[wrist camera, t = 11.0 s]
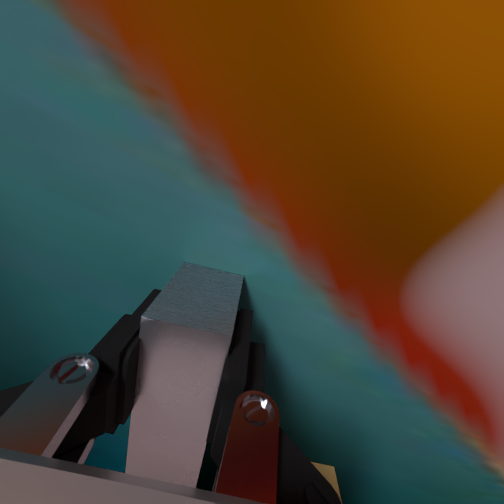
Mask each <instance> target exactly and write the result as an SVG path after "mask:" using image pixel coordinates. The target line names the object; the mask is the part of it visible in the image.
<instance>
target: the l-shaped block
mask: <svg viewBox="0 0 504 504" xmlns="http://www.w3.org/2000/svg"><path fill="white" fill-rule="evenodd" d="M243 278H244V276H242V275H238V274H233V273H229V272H225V271H220V270H216V269H212V268H207V267H203V266H198V265H194V264H190V263H185V262H184V263H183V265H182V266H181V267H180V268H179V270H178V271H177V272H176V273H175V275H174V276H173V277H172V278H171V280H170V281H169V282H168V283H167V285H166V286H165V287H164V288H163V290H162V291H161V292H160V293H159V295H158V296H157V297H156V298H155V300H154V301H153V302H152V303H151V305H150V306H149V307H148V308H147V310H146V311H145V312H144V313H143V315H142V316H141V323H140V333H139V338H141V339H140V349H139V358H138V368H137V378H136V387H135V397H134V407H133V409H132V412H131V421H130V431H129V441H128V451H127V461H126V471H125V473H126V474H131V475H136V476H141V477H146V478H150V479H155V480H160V481H165V482H169V483H174V484H179V485H183V486H188V487H193V488H196V485H197V480H198V476H199V472H200V468H201V464H202V460H203V455H204V451H205V447H206V443H207V442H206V439H207V434H208V430H209V425H210V421H211V417H212V412H213V408H214V404H215V400H216V396H217V391H218V387H219V383H220V379H221V374H222V370H223V366H224V362H225V358H226V357H227V355H228V351H229V347H230V343H231V339H232V334H233V329H234V324H235V319H236V314H237V309H238V303H239V298H240V293H241V288H242V283H243Z"/></svg>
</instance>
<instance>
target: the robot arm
mask: <svg viewBox="0 0 504 504" xmlns="http://www.w3.org/2000/svg"><path fill="white" fill-rule="evenodd" d="M161 291H162V290H157V289H154V290H153V291H152V292H151V293H150V294H149V296H148V297H147V298H146V299H145V300H144V301H143V303H142V304H141V305H140V306H139V307H138V308H137V309H136V311H135V312H134V313H133V314H132V315H129V314H125V315H124V316H123V317H122V318H121V319H120V320H119V321H118V322H117V323H116V324H115V325H114V326H113V327H112V328H111V330H110V331H109V332H108V333H107V334H106V335H105V336H104V337H103V338H102V339H101V340H100V342H99V343H98V344H97V345H96V346H95V347H94V348H93V349H92V350H91V351H90V352H89V353H88V354H86V353H75V354H69V355H66V356H63V357H60V358H58V359H57V360H55V361H53V362H52V363H51V364H50V365H48V366H47V368H46V369H45V370H44V371H43V372H42V373H41V374H40V375H39V376H38V377H37V378H36V379H35V380H34V381H32V382H29V383H26V384H22V385H19V386H16V387H13V388H9V389H6V390H3V391H0V504H342V503H341V501H340V498H339V496H338V494H337V492H336V491H335V490H334V488H333V487H332V485H331V484H330V483H329V482H328V481H327V480H326V478H325V477H324V476H323V475H322V474H321V473H320V472H319V471H318V469H317V468H316V467H315V466H314V465H313V464H312V463H311V462H310V460H309V459H308V458H307V457H306V456H305V455H304V454H303V452H302V451H301V450H300V449H299V448H298V447H297V446H296V445H295V443H294V442H293V441H292V440H291V439H290V438H289V437H288V436H287V434H286V433H285V432H284V431H283V430H282V429H281V428H280V427H279V417H280V416H279V409H278V407H277V405H276V403H275V402H274V401H273V399H272V398H271V397H269V396H268V395H267V394H265V393H264V352H265V347H264V344H259V343H255V342H250V335H251V324H252V314H253V311H251V310H246V309H242V308H241V309H240V311H237V314H236V319H235V324H234V329H233V334H232V339H231V343H230V347H229V351H228V355H227V357H226V358H225V362H224V366H223V370H222V374H221V379H220V383H219V387H218V391H217V396H216V400H215V404H214V408H213V412H212V417H211V421H210V425H209V430H208V434H207V439H206V442H208V443H212V444H211V450H210V456H211V457H212V459H213V460H214V462H215V464H216V465H217V467H218V469H217V473H216V477H215V481H214V485H213V490H212V492H211V491H207V490H202V489H197V488H193V487H188V486H183V485H179V484H174V483H169V482H165V481H160V480H155V479H150V478H146V477H141V476H136V475H131V474H126V473H122V472H117V471H112V470H107V469H102V468H97V467H93V466H88V465H83V464H84V462H85V460H86V458H87V456H88V454H89V452H90V450H91V448H92V446H93V444H94V442H95V439H96V437H98V436H100V435H102V434H104V433H105V432H106V433H111V434H114V432H115V430H116V429H117V427H118V425H119V424H124V423H125V422H126V420H127V419H128V417H129V415H130V413H131V411H132V409H133V407H134V397H135V387H136V378H137V368H138V358H139V349H140V339H141V338H139V333H140V323H141V316H142V315H143V313H144V312H145V311H146V310H147V308H148V307H149V306H150V305H151V303H152V302H153V301H154V300H155V298H156V297H157V296H158V295H159V293H160V292H161Z"/></svg>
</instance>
